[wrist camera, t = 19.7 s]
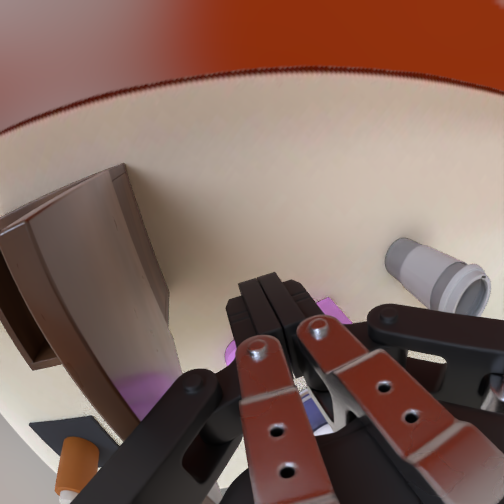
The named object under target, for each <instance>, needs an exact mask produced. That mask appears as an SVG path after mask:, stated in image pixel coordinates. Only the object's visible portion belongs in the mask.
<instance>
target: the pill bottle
mask: <svg viewBox="0 0 504 504" xmlns="http://www.w3.org/2000/svg"><path fill="white" fill-rule="evenodd" d="M300 396H301V399H302V402H303V405H304V407H305V410H306V413H307V416H308V419H309V422H310V424H311V427H312V430H313V433H314V436H318V435H323V434H329V433H334V432H333V430H332V429H331V427H330V425H329V424H328V422H327V421H326V419H325V418H324V416H323V415H322V413H321V411H320V410H319V408H318V407H317V405H316V404H315V402H314V401H313V399H312V397H311V396H310V394H309V392H308V388H307V389H305V390H303V391H302V392H300Z"/></svg>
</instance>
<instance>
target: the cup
mask: <svg viewBox="0 0 504 504" xmlns="http://www.w3.org/2000/svg"><path fill="white" fill-rule="evenodd" d="M385 266H386V269H387V271H388V272H389V273H390V274H391V275H392V276H394V277H395V278H396V279H397V280H398V281H399V282H401V283H402V285H403V286H404V288H406V289H407V290H408V291H409V292H410V293H411V294H412V295H413V296H415V297H416V298H417V299H418V300H419V301H420V302H421V303H422V304H424V305H425V306H426V307H427V308H428V309H429V310H436V311H442V312H449V313H456V314H462V315H469V316H476V317H480V316H481V314H482V313H483V311H484V309H485V307H486V305H487V303H488V300H489V297H490V292H491V282H490V279H489V277H488V276H487V275H486V274H485V272H484V270H483V269H482V268H481V267H480V266H479V265H477V264H470V265H467V264H466V263H465V262H463V261H460V260H458V259H456V258H454V257H452V256H449V255H447V254H445V253H443V252H440V251H438V250H436V249H434V248H431V247H429V246H426V245H422V244H419V243H417V242H415V241H412V240H410V239H408V238H401V239H398V240H397V241H395V242H394V243H393V244H392V245H391V246H390V248H389V250H388V252H387V254H386V258H385Z"/></svg>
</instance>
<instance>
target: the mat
mask: <svg viewBox="0 0 504 504" xmlns="http://www.w3.org/2000/svg"><path fill="white" fill-rule="evenodd" d="M29 426H30V427H31V428H32V429H33V430H34V431H35V432H36V433H37V434H38V435H39V437H40V438H41V439H42V440H43V441H44V442H45V443H46V444H47V445H49V446H50V447H51V448H52V449H53V450H54V451H55V452H56V453H57V454H58V455H59V456H61V451H62V447H63V442H64V439H65V438H67V437H80V438H83V439H86V440H88V441H90V442H92V443H93V444H94V445H96V446H97V448H98V449H99V460H98V467H102V466H103V465H104V464H105V463H106V462H107V461H108V459H109V458H110V457H111V456H112V455H113V454H114V453H115V451H116V450H117V449H118V448H119V446H118V444H117V443H116V442H115V441H114V440H113V439H112V438H111V437H110V436H109V435H108V434H107V433H106V431H105V430H104V429H103V428H102V427H101V426H100V425H99V424H98V422H97V421H96V420H95V419H94V418H93V416H87V417H80V418H73V419H65V420H56V421H47V422H37V423H29Z"/></svg>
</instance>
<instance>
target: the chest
mask: <svg viewBox="0 0 504 504" xmlns="http://www.w3.org/2000/svg"><path fill="white" fill-rule="evenodd" d="M105 171H109V173H110V177H111V180H112V183H113V186H114V189H115V192H116V195H117V198H118V201H119V204H120V207H121V210H122V213H123V216H124V219H125V222H126V225H127V227H128V230H129V233H130V236H131V238H132V241H133V244H134V246H135V249H136V252H137V254H138V257H139V259H140V262H141V264H142V267H143V269H144V272H145V274H146V277H147V279H148V282H149V284H150V287H151V289H152V291H153V294H154V296H155V298H156V301H157V303H158V305H159V308H160V310H161V312H162V314H163V317H164V319H165V321H166V323H167V325H168V328H169V290H168V288H167V285H166V283H165V280H164V278H163V275H162V272H161V270H160V267H159V265H158V262H157V259H156V257H155V254H154V251H153V249H152V246H151V243H150V240H149V238H148V235H147V232H146V229H145V226H144V223H143V220H142V217H141V215H140V212H139V209H138V206H137V203H136V200H135V196H134V193H133V190H132V187H131V184H130V181H129V177H128V174H127V171H126V168H125V164H124V163H122V164H120V165H117V166H114V167H112V168H109V169H106V170H104V171H101V172H98V173H96V174H93V175H91V176H88V177H86V178H83V179H81V180H79V181H76V182H74V183H71V184H69V185H67V186H64V187H62V188H60V189H58V190H55V191H53V192H51V193H49V194H46V195H44V196H42V197H40V198H38V199H36V200H34V201H32V202H29V203H27V204H25V205H23V206H21V207H19V208H17V209H15V210H13V211H11V212H9V213H8V214H6V215H4V216H2V217H0V231H1V230H3V229H4V228H6V227H7V226H9V225H10V224H12V223H13V222H15V221H16V220H18V219H20V218H21V217H23V216H24V215H26V214H28V213H29V212H31V211H32V210H34V209H36V208H37V207H39V206H41V205H42V204H44V203H46V202H47V201H49V200H51V199H53V198H54V197H56V196H58V195H60V194H61V193H63V192H65V191H67V190H69V189H70V188H72V187H74V186H76V185H78V184H80V183H82V182H84V181H85V180H87V179H89V178H91V177H93V176H95V175H97V174H99V173H102V172H105ZM0 321H1V322H2V324H3V326H4V328H5V329H6V331H7V333H8V334H9V336H10V338H11V339H12V341H13V342H14V344H15V346H16V347H17V349H18V350H19V352H20V353H21V355H22V356H23V358H24V359H25V361H26V362H27V364H28V365H29V366H30V368H31V369H32V370H38V369H43V368H47V367H52V366H56V365H61V364H62V363H61V362H60V360H59V359H58V357H57V356H56V354H55V353H54V351H53V350H52V348H51V346H50V345H49V343H48V342H47V340H46V338H45V337H44V335H43V333H42V332H41V330H40V328H39V326H38V325H37V323H36V321H35V320H34V318H33V316H32V314H31V312H30V310H29V309H28V307H27V305H26V303H25V301H24V299H23V297H22V295H21V293H20V291H19V289H18V287H17V285H16V283H15V281H14V279H13V277H12V275H11V273H10V270H9V268H8V266H7V264H6V261H5V259H4V257H3V254H2V252H1V250H0Z"/></svg>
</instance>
